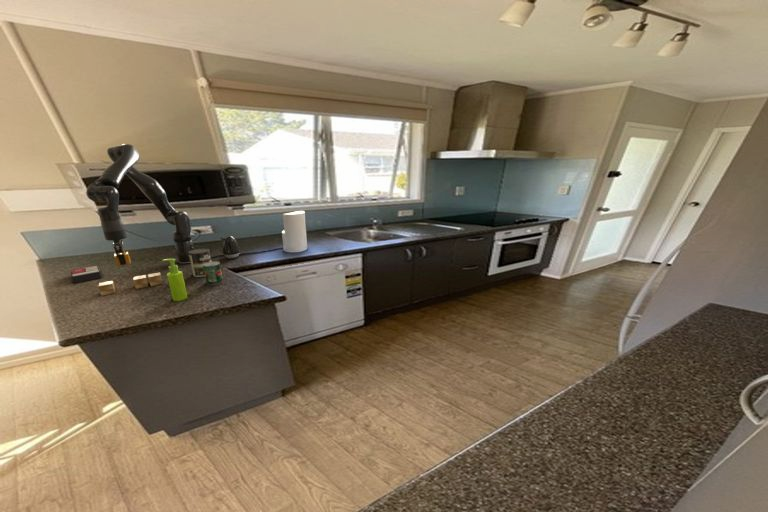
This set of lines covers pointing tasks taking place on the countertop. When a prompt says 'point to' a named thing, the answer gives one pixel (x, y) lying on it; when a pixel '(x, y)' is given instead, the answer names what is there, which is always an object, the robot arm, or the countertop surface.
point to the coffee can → (199, 261)
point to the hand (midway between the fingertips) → (123, 262)
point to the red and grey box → (85, 274)
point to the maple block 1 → (106, 288)
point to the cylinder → (294, 232)
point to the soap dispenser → (176, 282)
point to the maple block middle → (140, 281)
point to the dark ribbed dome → (230, 247)
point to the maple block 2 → (155, 279)
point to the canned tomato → (213, 273)
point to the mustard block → (125, 258)
